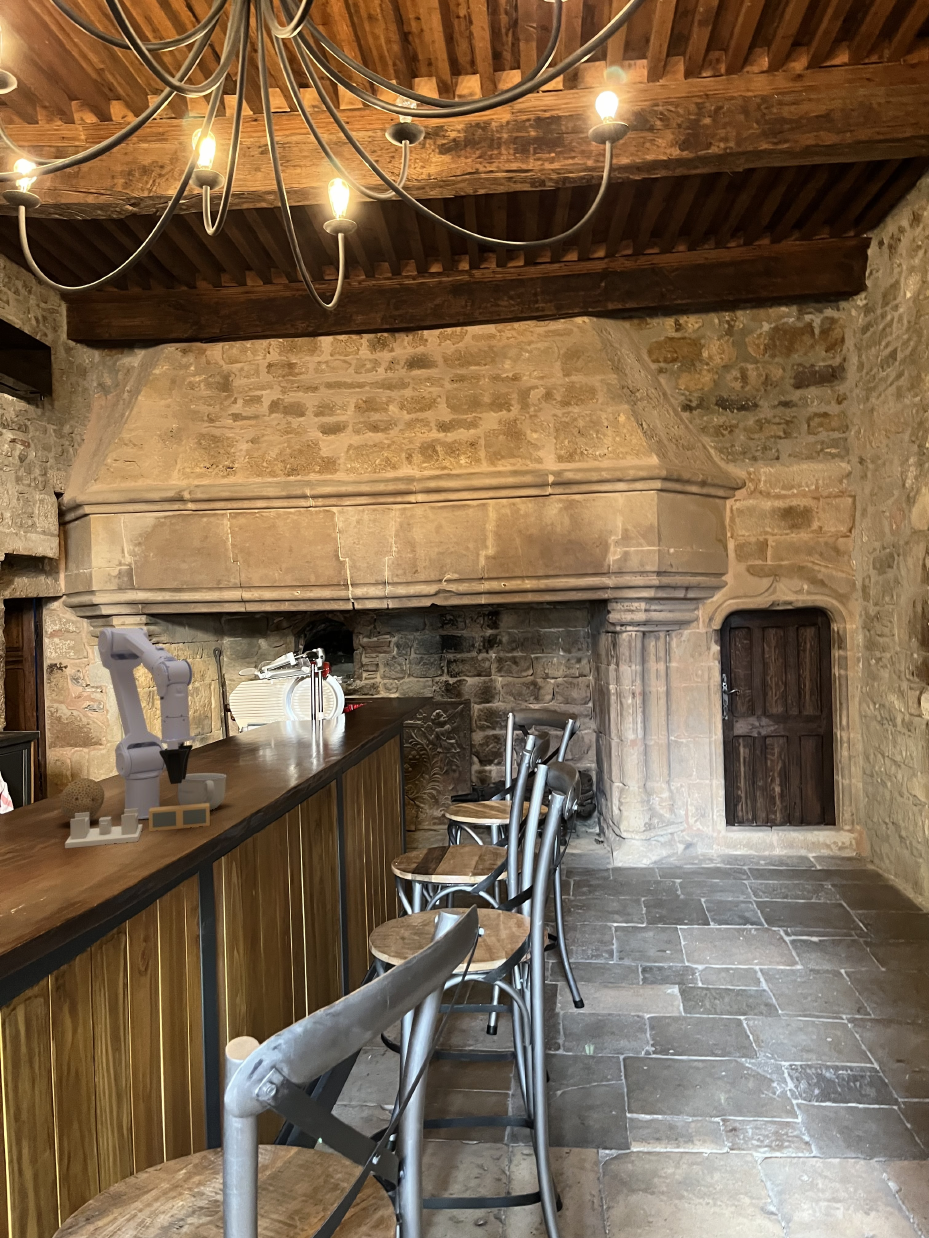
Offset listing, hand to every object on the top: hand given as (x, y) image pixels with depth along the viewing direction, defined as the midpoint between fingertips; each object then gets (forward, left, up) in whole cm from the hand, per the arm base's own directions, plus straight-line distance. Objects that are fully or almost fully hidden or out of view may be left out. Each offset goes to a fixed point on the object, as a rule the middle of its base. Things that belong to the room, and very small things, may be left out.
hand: (178, 781), depth 169 cm
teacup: (-16, +5, -10) cm, 19 cm away
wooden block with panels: (-1, 0, -10) cm, 10 cm away
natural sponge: (-12, -20, -10) cm, 26 cm away
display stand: (+4, -14, -10) cm, 17 cm away
